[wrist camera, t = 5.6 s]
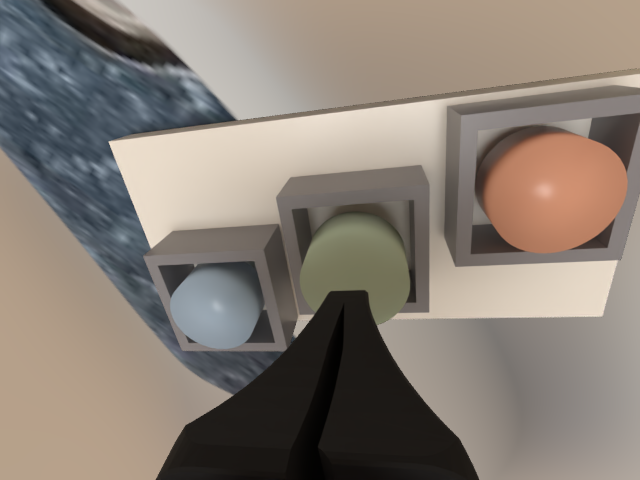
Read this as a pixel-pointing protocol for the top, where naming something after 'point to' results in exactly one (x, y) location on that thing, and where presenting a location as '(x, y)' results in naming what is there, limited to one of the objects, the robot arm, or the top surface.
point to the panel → (379, 199)
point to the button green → (357, 263)
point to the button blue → (218, 304)
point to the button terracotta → (550, 188)
